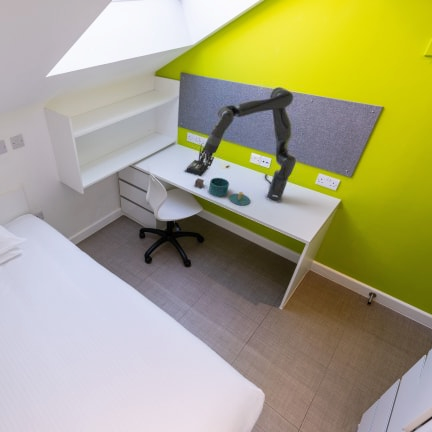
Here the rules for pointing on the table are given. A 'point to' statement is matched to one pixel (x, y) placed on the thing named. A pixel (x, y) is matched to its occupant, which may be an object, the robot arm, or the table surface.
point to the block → (199, 183)
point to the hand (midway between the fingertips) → (201, 167)
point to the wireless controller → (196, 167)
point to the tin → (218, 187)
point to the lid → (239, 199)
